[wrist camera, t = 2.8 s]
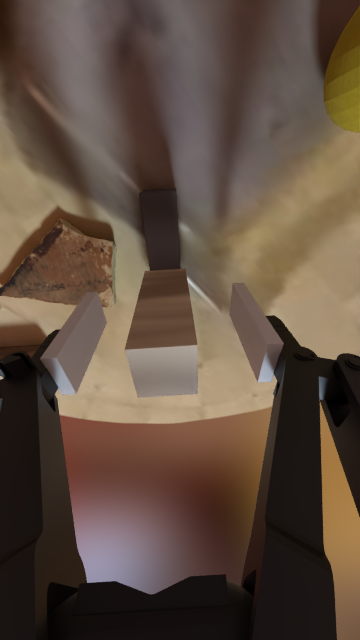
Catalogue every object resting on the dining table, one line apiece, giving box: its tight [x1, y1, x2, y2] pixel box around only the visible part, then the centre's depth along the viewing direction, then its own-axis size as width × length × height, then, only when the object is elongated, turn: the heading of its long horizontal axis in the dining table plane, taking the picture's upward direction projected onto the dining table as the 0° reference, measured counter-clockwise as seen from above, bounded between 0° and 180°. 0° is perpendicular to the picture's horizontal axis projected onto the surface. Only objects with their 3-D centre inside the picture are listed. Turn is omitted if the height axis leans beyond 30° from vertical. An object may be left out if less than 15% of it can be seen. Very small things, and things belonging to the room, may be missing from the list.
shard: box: [0, 218, 116, 307], centre depth 18 cm, size 11×8×2 cm
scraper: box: [125, 189, 198, 398], centre depth 15 cm, size 14×3×12 cm, turn 3°
